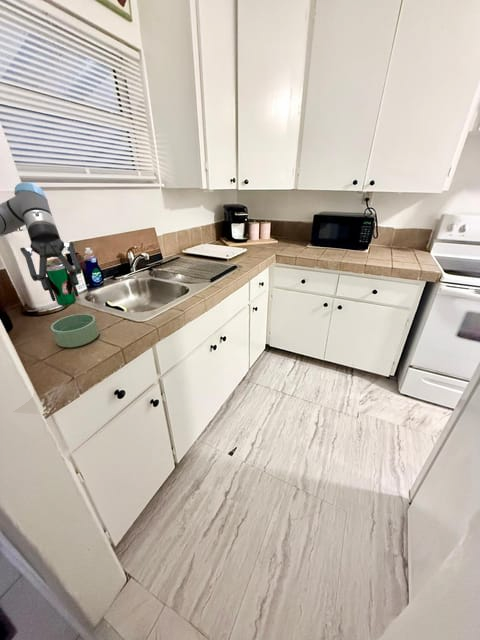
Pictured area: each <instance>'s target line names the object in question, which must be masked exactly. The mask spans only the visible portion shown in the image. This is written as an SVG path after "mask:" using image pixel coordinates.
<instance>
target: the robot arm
mask: <svg viewBox="0 0 480 640" xmlns="http://www.w3.org/2000/svg"><path fill="white" fill-rule="evenodd" d="M14 189H15V191H14V192H13V194H14V196H12V197H11V198H9V199H8V200H5V201H3V202H1V203H0V237H3V236H6V235H9V234H12V233H13V232H14V231H16V230H18V229H20V228H22V227H24V226H25V228H26V231H27V234H28V237H29V240H30V244H29V245H30V246H28V247H24V246H23V247H20V248H19V250H20V252H21V254H22V256H23V257H24V258H25V262H26V264H27V268H28V270H29V275H30V278H31V279H32V281H34V282H38V281H39V282H40V284H41V286H42V289H43V291H45V292H46V291H48V293H49V295H50V298H51V300H52V302H57V301H56V298H55V295H54V293H53V290H52V287H51V285H50V282H49V279H48V276H47V274H46V271H45V269H46V267H45V266H46V265H48V263H47V262H48V259H50V258H57V259H58V260H59V261H60V263H63V265H64V266H65V267H66V269H67V272H68V275H69V278H70V281H71V284H72V287H73V290H74V293H75V296H76V298H77V297H79V292H78V289H77V287H76V286H78V285H80V282H79V280H78V275H81V274H83V273H82V272H83V271H82V268H81V265H80V262H79V260H78V257H77V254H76V248H75V247H76V246H75V243H74V242H67V243H66V242H64V241H63V240H62V239H61V236H60V234H59V231H58V229H57V225H56V222H55V220H54V217H53V214H52V212H51V208H50V205H49V201H48V198H47V197H46V194H45V192H44V190H43V189H42V188H41V187H40V186H39V185H37V184H35V183H32V182H19V183H18V184H15V187H14ZM64 249H66V251H67V252H69V255H70V257H71V260H72V264H73V266H74V268H73V266H72V265H71V263H70V262H69V261H68V260H67V258H66V257H65V256H64V254H63V251H64ZM33 252H34V253H35V254H37V255H39V256H38V257H39V263H38V264H39V266H38V274H37V271H36V268H35V264H34V260H33V258H32V256H33Z"/></svg>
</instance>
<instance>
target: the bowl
mask: <svg viewBox="0 0 480 640" xmlns="http://www.w3.org/2000/svg"><path fill="white" fill-rule="evenodd" d="M50 331H51V333H52V336H53V338H54V341H55V343H56V344H57V346H58V347H62V348H76V347H81V346H84V345H87V344H89V343H91V342H92V341H94V340H96V338H98V336H99V335H100V330H99V326H98V323H97V320H96V317H95V315H93V314H90V313H76V314H71V315H68V316H67V315H66V316H64V317H61V318H59V319H58V320H56V321H54V322H53V323H52V324H51V325H50Z"/></svg>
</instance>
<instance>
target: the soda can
mask: <svg viewBox="0 0 480 640" xmlns="http://www.w3.org/2000/svg"><path fill="white" fill-rule="evenodd" d="M45 267H46V269H45V271H46V277H48V279H49V282H50V285H51V287H52V290H53V293H54V296H55V299H56V301H55V302H56V304H57V305H59V306H61V307H68V306H71V305H74V304H75V303H76V302H77V297H76V296H75V293H74V290H73V287H72V284H71V281H70V278H69V275H68V273H69V272H68V271H67V269H66V267H65V266H64V265H63V263H61V262H53V263H47V265H46V266H45Z"/></svg>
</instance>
